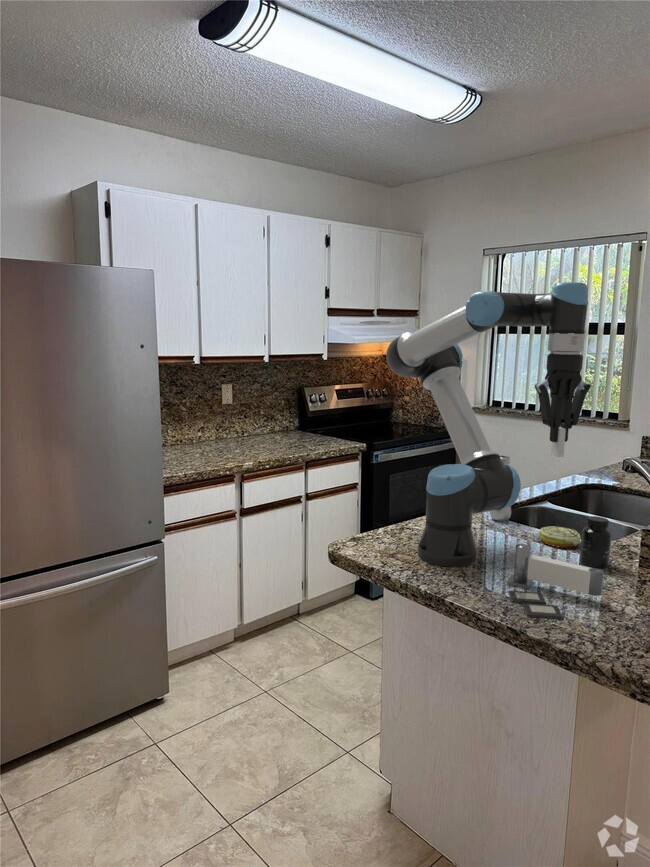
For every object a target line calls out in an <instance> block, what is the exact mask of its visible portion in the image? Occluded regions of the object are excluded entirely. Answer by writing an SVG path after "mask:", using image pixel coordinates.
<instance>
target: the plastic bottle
mask: <svg viewBox="0 0 650 867" xmlns="http://www.w3.org/2000/svg"><path fill="white" fill-rule="evenodd" d="M500 458H501V460H502V462H503V464H508V465H510V463H511V461H510V460H511V459H510V458H511V457H510V456H508V455H500ZM489 515H490V518H491V519H493V520H495V521H500V522H505V521H508V520H510V518H511V515H512V505H511V506H509V507H507V508H503V509H501V510H493V511H489Z"/></svg>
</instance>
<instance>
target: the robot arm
mask: <svg viewBox="0 0 650 867" xmlns="http://www.w3.org/2000/svg"><path fill="white" fill-rule="evenodd" d="M588 293H589V287H588V285H587V284H586V283H584V282H580V281H579V282H576V281H575V282H574V281H573V282H569V281H567V282H557V283H554V284H553V285H552V288H551V291H550V292H549V293H520V292H502V291H500V292H499V291H492V290H486V291H477V292H474V293H472V294H471V295H470V297H469V299H468V300H467V301H466V304H465V305H464V306H462V307H460V308H457V309H456V310H455V311H454V310H453V312H451V313H449V314H447V315H445V316H443V317H441V318H439V319H437V320H436V321H433V322H432V323H429V324H428V325H426V326H424V327H423V328H420V329H418V330H416V331H415V332H410V331H409V332H404V333H402V334H401V335H399V336H398V337H396V338H395V339H393V340H392V341H391V342H390V343H389V345H388V347H387V350H386V354H385V355H386V358H385V359H386V362H387V365H388V367H389V369H390V370H391V371H392V372H393V373H394V374H396V375H397V376H400V377H402V378H418V379H419V380H420V382H421V385H422V387H423V389H425V390H427V391H428V390H429V391H430V392H431V394H432V397H433V399H434V402H435V404H436V406H437V409H438V412H439V413H440V416H441V418H442V420H443V423H444V425H445V427H446V431H447V432H448V435H449V436H450V439H451V442H452V444H453V447H454V449H455V452H456V454H457V456H458V458H459V460H460V463H454V464H451V463H450V464H443V465H439V466H437V467H434V468H432V469H431V470H430V471H429V473H428V475H427V480H426V481H427V483H426V486H425V487H426V503H425V504H426V506H425V526H424V529H423V531H422V535H421V536H420V538H419V541H418V545H417V556H418V557H419V559H421V560H422V561H424V562H427V563H429V564H432V565H435V566H443V567H454V568H455V567H464V566H466V567H467V566H469V565H472V564H474V563H475V562H476V561H477V559H478V549H477V544H476V541H475V537H474V534H473V531H472V527H473V526H472V525H473V515H474V514H481V513H485V512H487V513H488V512H490V511H493V510H501V509H503V508H507V507H509V506H511V507H512V506H513V505H514V504H515V503H516V502H517V500H518V498H519V495H520V492H521V489H522V488H521V484H522V483H521V478H520V475H519V473H518V471H517V469H516V468H515V467H513V466H511V465H510V464H509V465H508V464H503V462H502V460H501V458H500V456H501V454H499V453H497V452H495V451H492V450H491V447H490V445H489V443H488V440H487V439H486V436H485V434H484V432H483V430H482V428H481V425H480V423H479V420H478V419H477V416H476V414H475V412H474V410H473V407H472V406H471V403H470V401H469V398H468V397H467V394H466V392H465V390H464V387H463V385H462V382H461V381H460V377H461V374H462V367H463V351H462V349H461V347H460V345H459V344H460V343H463V342H465V341H467V340H469V339H471V338H473V337H476V336H478V335H480V334H482V333H484V332H486V331H488V330H490V329H493V328H497V327H521V328H528V327H548V330H549V331H548V340H547V351H548V352H549V353H548V355H546V356H547V357H546V370H547V371H546V375H545V376H544V380H543V381H542V382H540V383H535V384H534V388H535V390H536V393H537V394H538V400H539V401H538V402H539V408H540V413H541V420H542V424H543V425H545V426H547V427H549V428H550V429H549V442H551V452H550V453H551V455H552V456H555V457H557V458H565V457H564V456H565V446H566V445H565V444H566V442H568V440H569V431H570V429H572V428H573V426H577V425H578V422H579V419H580V415H581V412H582V409H583V406H584V402H585V399H586V396H587V394H588V392H589V391H590V390H591V387H592V386H591V384H589V383H586V382H585V381H583V377H582V374H581V373H582V372H581V371H582V369H583V364H584V363H583V360H584V355H583V354H581V353H583V352H584V348H585V346H584V345H585V338H586V337H585V334H586V321H587V320H586V319H587V312H588V305H589V300H588V299H589V298H588V297H589V295H588ZM549 391H550V393H549ZM550 399H551V400H550Z"/></svg>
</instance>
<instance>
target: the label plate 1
mask: <svg viewBox="0 0 650 867" xmlns="http://www.w3.org/2000/svg"><path fill="white" fill-rule="evenodd" d="M508 595H509V598H510V600H511V603H512V604H523V603H530V604H543V605H547V602H546V600H545V597H544V594H543V593H542V592H537V591H523V590H508Z"/></svg>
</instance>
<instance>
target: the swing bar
mask: <svg viewBox="0 0 650 867" xmlns="http://www.w3.org/2000/svg"><path fill="white" fill-rule="evenodd" d="M604 573H605V572H604V571H603V569H595V568H590V567H586V566H584V565H582V564H581V565H580V564H575V563H571V562H566V561H563V560H558V559H553V558H548V557H545V556H539V555H534V554H532V555H530V556H529V561H528V575H527V577H528V579H531V580H533V581H535V582H538V583H539V582H540V583H542V584H547V585H550V586H551V585H552V586H556V587H559V588H564V589H568V590H573V591H575V592H580V593H584V594H588V595H590V596H594V597H600V596H602V595H603V583H604V575H605V574H604Z"/></svg>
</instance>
